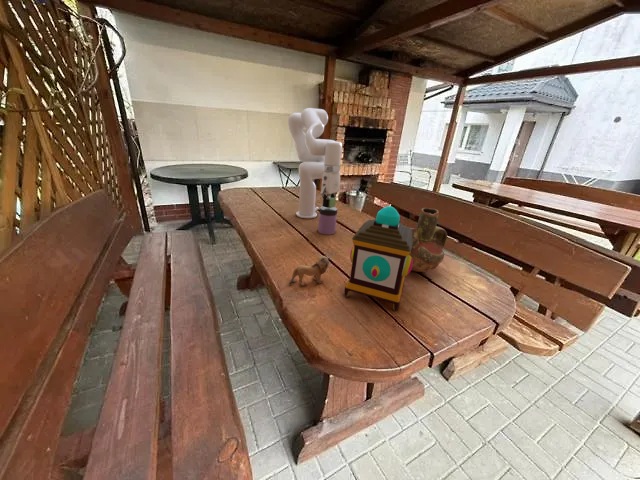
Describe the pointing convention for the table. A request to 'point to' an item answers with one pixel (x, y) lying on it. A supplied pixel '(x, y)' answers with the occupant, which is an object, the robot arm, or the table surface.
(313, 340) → the table surface
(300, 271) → the lion figurine
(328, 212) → the jar lid
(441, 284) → the table surface
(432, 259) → the ceramic vessel
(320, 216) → the jar
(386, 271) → the decorative lantern
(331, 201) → the block
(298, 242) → the table surface
